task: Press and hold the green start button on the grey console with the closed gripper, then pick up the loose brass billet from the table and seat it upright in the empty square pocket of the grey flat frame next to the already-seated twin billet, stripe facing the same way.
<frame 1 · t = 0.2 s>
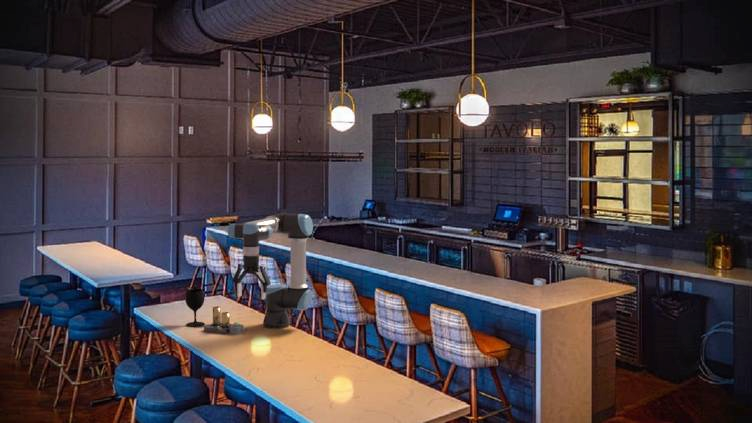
hand: (251, 297, 311), 28 cm above the table, fingers open, 13 cm apart
console: (236, 332, 347), on the table
grey flat frame: (220, 330, 352), on the table
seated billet: (225, 330, 351), resting in grey flat frame
start button: (236, 324, 347), point 5 cm above the table, slide at 0.0 cm
loose billet: (216, 324, 363), on the table
wine glass: (195, 325, 362), on the table
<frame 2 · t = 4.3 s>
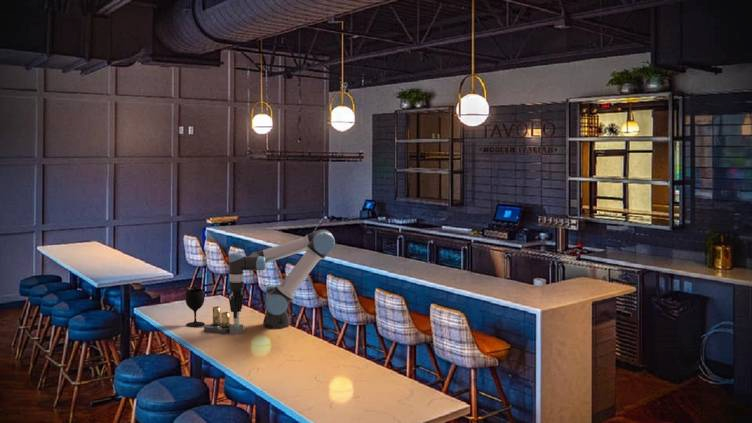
hand: (236, 323, 347), 5 cm above the table, fingers closed
start button: (236, 325, 347), point 4 cm above the table, slide at 0.7 cm, touching gripper
everything else where it was.
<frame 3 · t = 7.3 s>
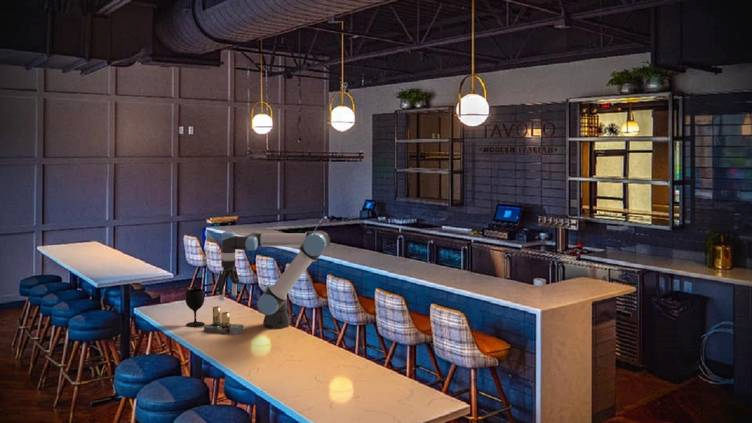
hand: (228, 297, 351), 18 cm above the table, fingers open, 13 cm apart
start button: (236, 326, 347), point 4 cm above the table, slide at 0.8 cm
everything else where it was.
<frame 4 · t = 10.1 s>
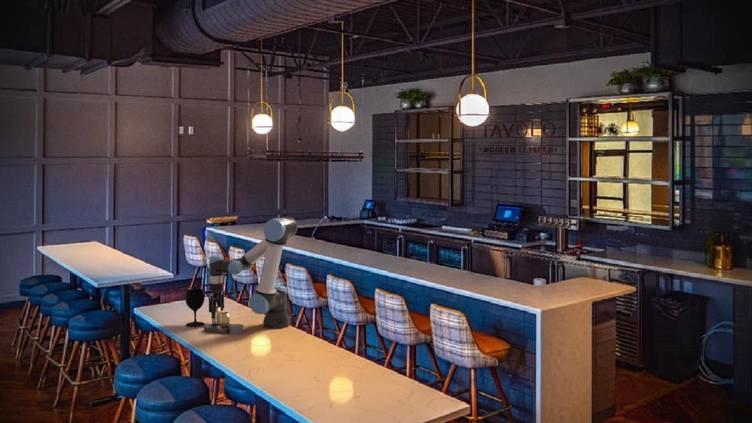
hand: (216, 322, 363), 1 cm above the table, fingers closed on loose billet, 4 cm apart
loose billet: (216, 324, 363), on the table, touching gripper
everything else where it was.
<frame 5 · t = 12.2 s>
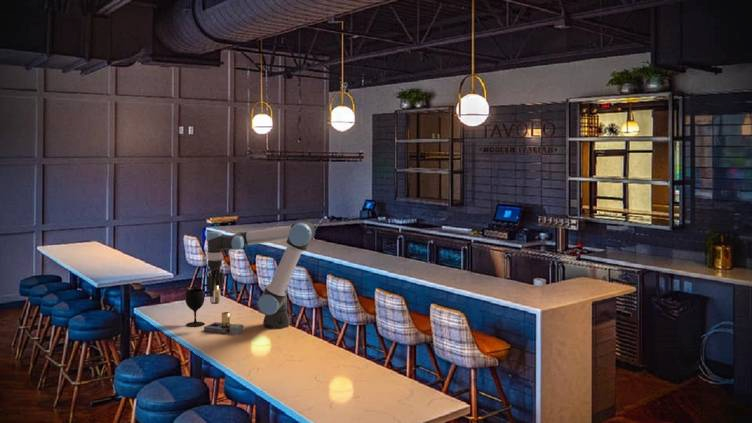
hand: (215, 301, 352), 16 cm above the table, fingers closed on loose billet, 4 cm apart
loose billet: (215, 303, 352), point 15 cm above the table, touching gripper
everything else where it was.
when the fingers open (4 cm above the table, at t = 14.6 s): loose billet drops 2 cm, resting in grey flat frame.
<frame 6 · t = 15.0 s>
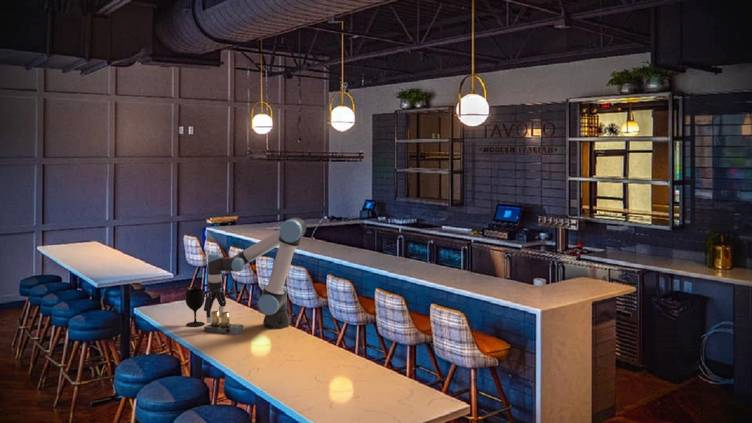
hand: (215, 320, 353), 5 cm above the table, fingers open, 11 cm apart
loose billet: (215, 329, 353), resting in grey flat frame
everything else where it was.
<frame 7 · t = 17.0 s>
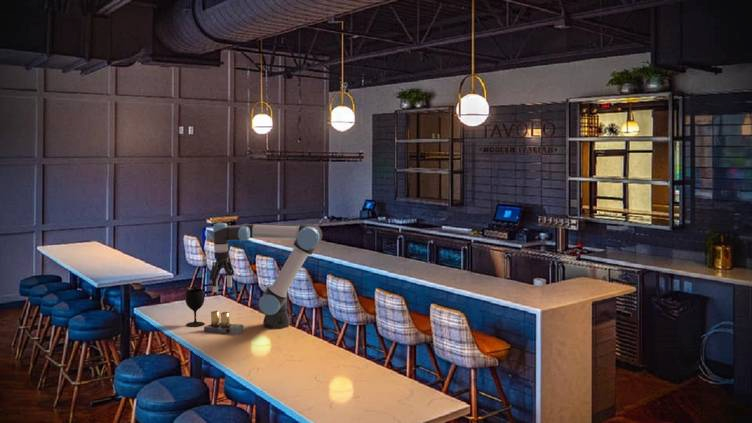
hand: (222, 289, 350), 23 cm above the table, fingers open, 13 cm apart
nothing on the table moved.
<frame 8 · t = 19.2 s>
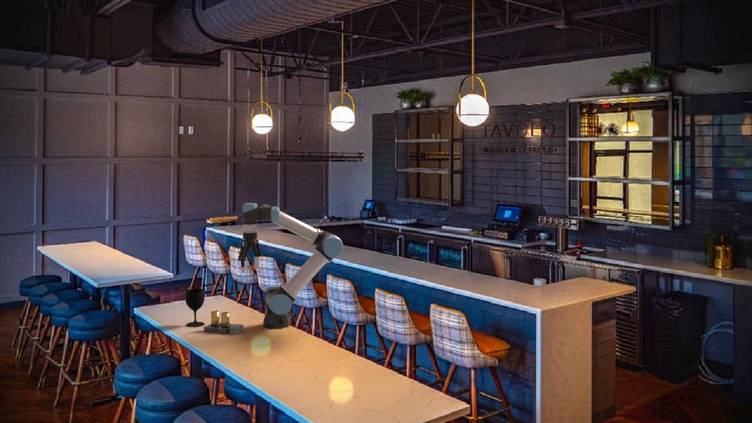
hand: (250, 270, 343), 35 cm above the table, fingers open, 13 cm apart
nothing on the table moved.
at the end: loose billet 0.0 cm from the target spot on the grey flat frame, point 0.0 cm above the grey flat frame's base; loose billet tilted 0°; the gripper is holding nothing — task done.
